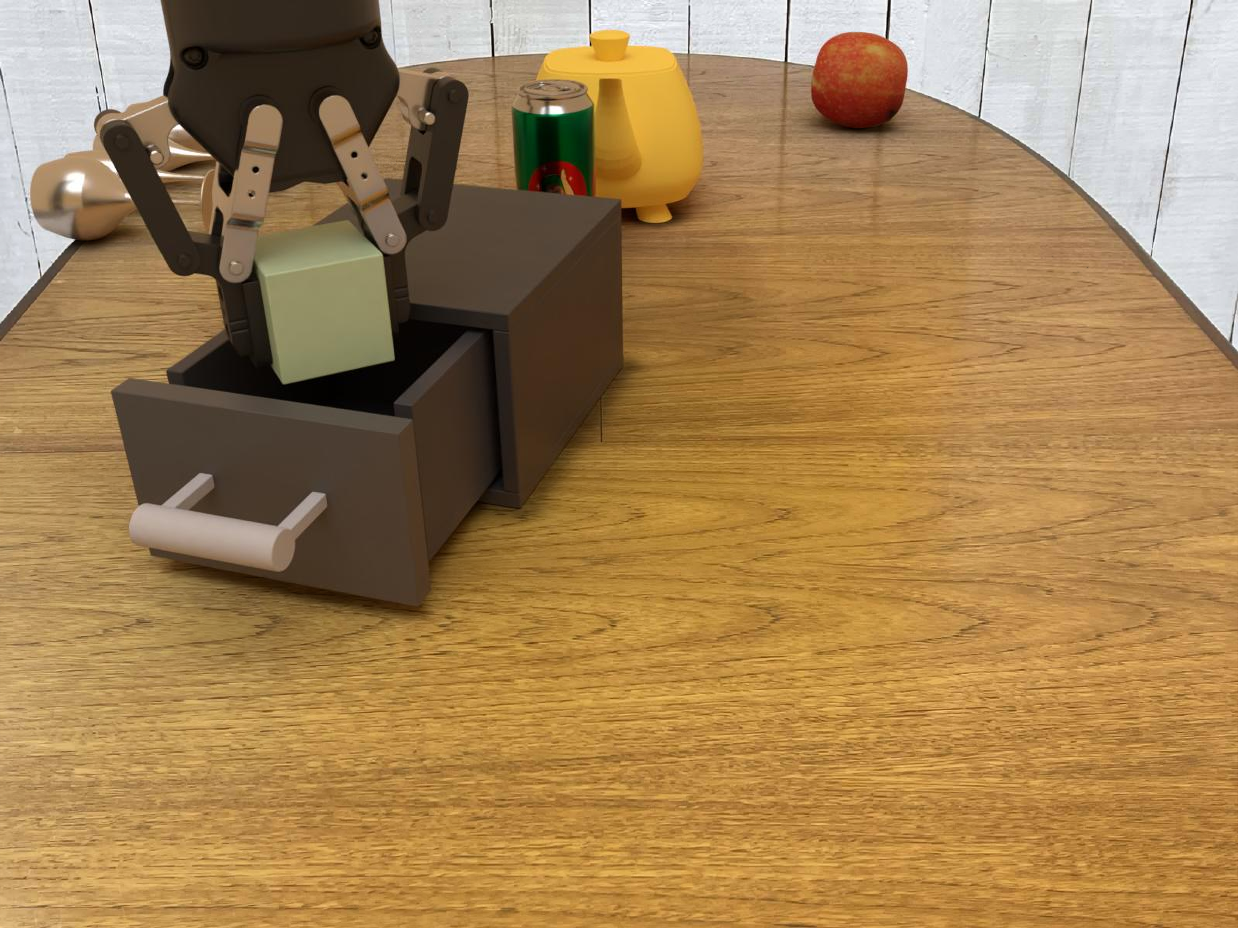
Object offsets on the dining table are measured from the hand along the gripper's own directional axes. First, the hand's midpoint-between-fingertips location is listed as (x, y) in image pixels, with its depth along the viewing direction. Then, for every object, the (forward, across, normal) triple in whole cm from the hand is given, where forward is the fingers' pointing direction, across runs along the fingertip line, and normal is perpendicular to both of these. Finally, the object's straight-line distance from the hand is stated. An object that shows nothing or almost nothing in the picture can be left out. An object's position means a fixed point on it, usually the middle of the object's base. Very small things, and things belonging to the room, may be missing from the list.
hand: (322, 344), depth 52 cm
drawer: (+8, 0, 0) cm, 8 cm away
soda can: (+9, -21, -23) cm, 33 cm away
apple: (+9, -59, -42) cm, 73 cm away
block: (0, 0, 0) cm, 0 cm away
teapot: (+9, -30, -33) cm, 46 cm away
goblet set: (+7, -9, -50) cm, 51 cm away
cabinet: (+9, -8, -8) cm, 15 cm away
